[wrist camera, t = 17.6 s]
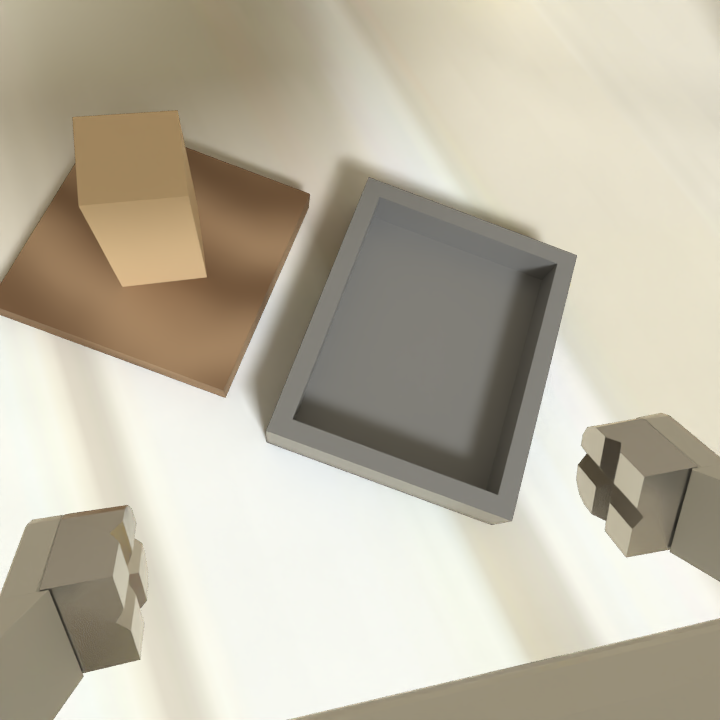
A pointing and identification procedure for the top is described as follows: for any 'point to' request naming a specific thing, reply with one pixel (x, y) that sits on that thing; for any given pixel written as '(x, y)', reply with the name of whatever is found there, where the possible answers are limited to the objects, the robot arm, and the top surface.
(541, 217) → the top surface
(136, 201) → the carton
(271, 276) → the walnut pad
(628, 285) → the top surface
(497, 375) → the tray
